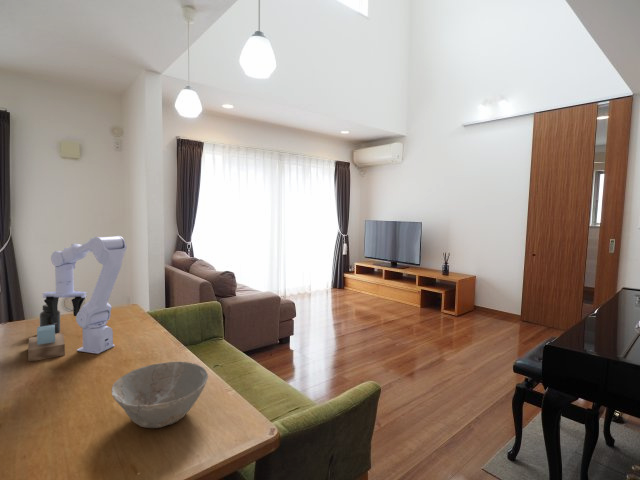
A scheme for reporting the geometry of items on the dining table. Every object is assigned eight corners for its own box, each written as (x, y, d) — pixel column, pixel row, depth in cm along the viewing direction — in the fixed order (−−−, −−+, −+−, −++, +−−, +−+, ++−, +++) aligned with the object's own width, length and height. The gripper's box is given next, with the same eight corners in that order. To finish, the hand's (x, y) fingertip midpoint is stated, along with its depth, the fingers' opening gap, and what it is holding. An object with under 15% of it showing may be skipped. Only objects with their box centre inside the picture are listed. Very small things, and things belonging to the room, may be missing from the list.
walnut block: (63, 342, 134) (62, 332, 133) (64, 354, 123) (64, 344, 122) (29, 348, 127) (29, 337, 127) (28, 361, 116) (27, 350, 116)
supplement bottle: (51, 336, 140) (51, 307, 139) (35, 335, 140) (34, 306, 139) (64, 330, 147) (64, 303, 146) (49, 329, 147) (48, 302, 146)
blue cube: (55, 337, 128) (54, 324, 128) (55, 342, 124) (54, 328, 124) (37, 340, 125) (37, 327, 124) (37, 344, 121) (36, 331, 120)
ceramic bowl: (179, 386, 104) (179, 354, 103) (224, 416, 90) (225, 379, 89) (96, 418, 87) (96, 380, 86) (136, 462, 72) (135, 417, 72)
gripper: (37, 283, 128) (38, 318, 129) (79, 283, 130) (80, 318, 131) (49, 279, 135) (49, 313, 136) (89, 279, 137) (89, 313, 138)
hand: (65, 315), depth 134 cm, fingers open, 7 cm apart
